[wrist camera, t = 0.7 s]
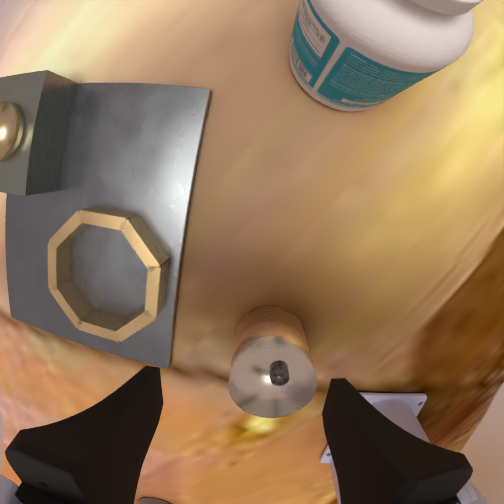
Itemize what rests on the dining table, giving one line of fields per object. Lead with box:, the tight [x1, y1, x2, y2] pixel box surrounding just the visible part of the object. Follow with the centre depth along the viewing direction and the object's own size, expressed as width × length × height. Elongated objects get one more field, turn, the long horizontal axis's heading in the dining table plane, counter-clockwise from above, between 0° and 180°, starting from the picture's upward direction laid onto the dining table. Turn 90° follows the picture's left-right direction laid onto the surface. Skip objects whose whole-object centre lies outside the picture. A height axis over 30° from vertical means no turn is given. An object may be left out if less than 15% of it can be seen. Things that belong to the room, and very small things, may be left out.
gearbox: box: [0, 70, 212, 369], centre depth 18 cm, size 20×16×6 cm
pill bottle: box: [289, 0, 483, 112], centre depth 11 cm, size 8×7×14 cm
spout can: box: [229, 306, 317, 418], centre depth 19 cm, size 5×5×7 cm
